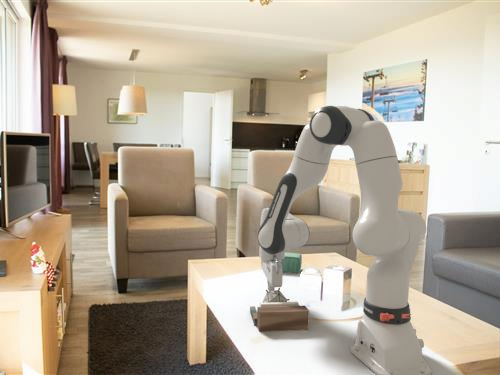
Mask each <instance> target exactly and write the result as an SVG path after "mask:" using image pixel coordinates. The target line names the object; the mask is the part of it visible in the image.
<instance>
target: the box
mask: <svg viewBox="0 0 500 375" xmlns="http://www.w3.org/2000/svg"><path fill="white" fill-rule="evenodd" d="M302 262H303V258H302V253H297V252H296V253H295V252H289V251H287V252H286V251H285V258H284V259H282V260H281V264H282V273H286V274H296V275H299V274H300V272H301V268H302ZM298 273H299V274H298Z"/></svg>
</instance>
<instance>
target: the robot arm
mask: <svg viewBox="0 0 500 375" xmlns="http://www.w3.org/2000/svg"><path fill="white" fill-rule="evenodd" d="M310 117H311V118H310V121H309V123H307V124H306V125H305V126H304V127H303V129H302V131H301V134H300V136H299V138H298V141H297V144H296V147H295V150H294V154H293V158H292V160H291V162H290V166H289V168H288V169H287V171H286V172H285V174H284V175H283V176H282V177H281V179H280V181H279V183H278V185H277V187H276V189H275V193H274V194H273V195H274V196H273V198H272V201H271V203H270V206H266V207H264V208H263V209H262V211H261V215H260V222H259V225H260V226H259V228H258V229H259V230H258V232H257V242H258V245H259V248H258V249H259V252H258V254H259V258H260V259H261V260H260V262H261V263H260V264H261V270H262V272H263V273H264V275H265V277H266V280H267V291H275V290H276V288H282V286H283V272H282V264H281V260H282V259H284V258H285V252H286V251H289V250H294V249H297V248H302V247H304V246H306V244H308V242H309V239H310V234H311V233H310V227H309V226H308V224H307V222H306V221H305V220H303V219H300V218H298V217H296V216H295V215H293V214H291V213H290V211H291V208H292V206H293V203H294V202H295V200H296V199H297V198H298V197H299V196H300V195H302V194H303V193H304V192H306V191H308V190H310V189H312V188H314V187H316V186H318V185H319V184H320V183H321V182H322V181H324V178H325V176H326V175H327V171H328V169H329V166H330V161H331V157H332V154H333V151H334V149H335V148H336V147H337V146H341V147H342V146H344V147H345V146H348V147H349V148H350V149H351V151H352V153H353V156H354V162H355V168H356V172H357V178H358V184H359V191H360V205H359V206H360V207H359V214H358V219H357V220H356V222H355V224H354V227H353V228H352V241H353V244H354V246H355V248H356V249H357V250H358V251H359V252H360V253H362V254H364V255H366V256H370V257H372V256H373V257H374V259H373V262H372V263H371V265H370V266H369V267H368V270H367V273H366V285H365V286H366V288H365V290H366V291H365V297H364V298H363V304H362V306H363V310H362V311H363V313H364V314H362V317H361V318H360V319H359V321H358V322H357V327H356V328H357V329H356V337H355V344H354V345H352V346H351V347H350V353H351V354H353V355H354V356H355V357H356V358H357V359H359V360H360V362H362V363H363V364H364V365H365V366H366V367H367V368H369V369H370V370H371V371H372V372H373V373H374V374H376V375H432V369H431V368H430V366H429V364H428V363H427V361H426V360H425V358H424V357H423V348H424V346H425V344H424V343H425V341H424V340H423V339H422V338H418V335H417V330H416V328H414V327H413V325H412V322H411V319H412V317H411V315H412V314H411V313H412V312H411V309H410V308H411V307H410V304H409V295H410V294H409V292H410V291H409V290H410V281H411V273H412V269H413V266H414V263H415V260H416V256H417V253H418V250H419V247H420V244H421V242H423V239H424V238H425V236H426V234H427V224H426V221H425V218H423V216H422V215H421V214H420V213H418V212H417V211H413V210H410V209H404V208H401V209H399V197H400V193H401V191H402V188H403V184H404V183H403V179H402V175H401V174H402V173H401V169H400V164H399V160H398V154H397V150H396V146H395V144H394V141H393V138H392V135H391V133H390V130H389V128H388V126H387V125H386V123H384V122H382V121H378V120H375V118H374V116H373V115H372V114H371V113H369V112H368V111H367V110H365V109H361V108H355V107H350V106H347V105H346V106H345V105H337V106H336V105H335V106H334V105H327V106H323V107H319V108H318V109H317V110H315V111H314V112H313V113H312V115H311V116H310Z"/></svg>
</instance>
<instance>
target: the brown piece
mask: <svg viewBox="0 0 500 375" xmlns="http://www.w3.org/2000/svg"><path fill="white" fill-rule="evenodd" d="M249 314H250V317H251V320H252V322H253V325H254V326H257V330H258V332H261V333H264V332H288V331H289V332H291V331H308V330H309V314H310V311H309V309H308V308H307V306H306V305H299V306H271V307H260V306H257V309H256V306H249Z"/></svg>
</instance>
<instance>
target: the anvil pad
mask: <svg viewBox="0 0 500 375" xmlns="http://www.w3.org/2000/svg"><path fill="white" fill-rule="evenodd" d="M299 303H300V302H298V301H287V302H266V303H263V302H260V303H259V307H271V306H300V305H299Z"/></svg>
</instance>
